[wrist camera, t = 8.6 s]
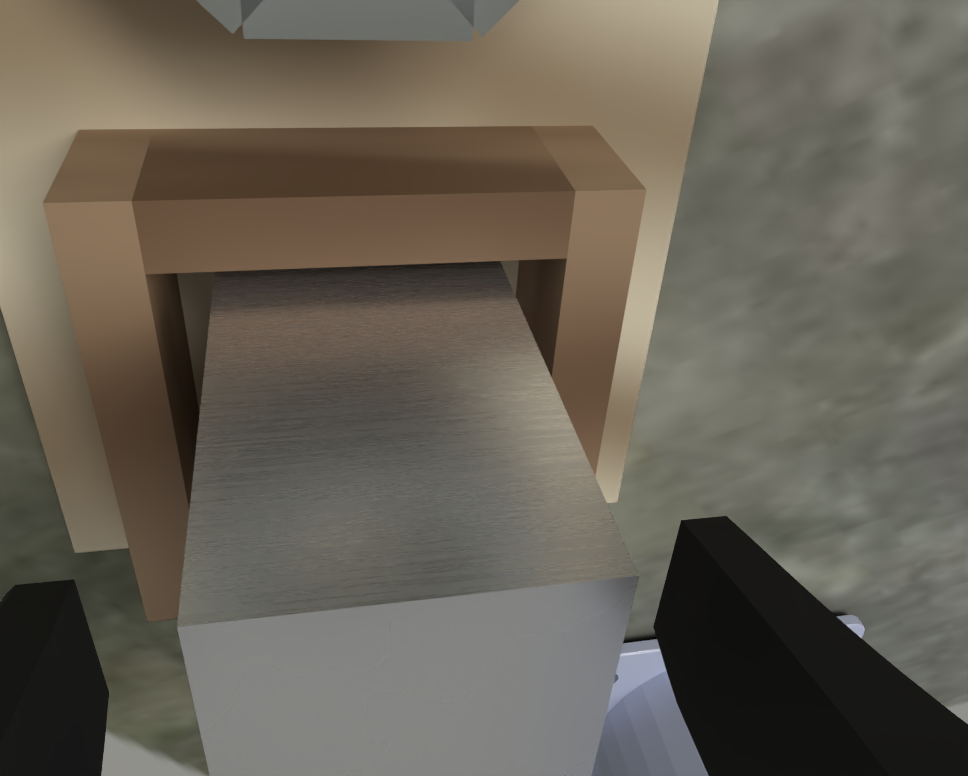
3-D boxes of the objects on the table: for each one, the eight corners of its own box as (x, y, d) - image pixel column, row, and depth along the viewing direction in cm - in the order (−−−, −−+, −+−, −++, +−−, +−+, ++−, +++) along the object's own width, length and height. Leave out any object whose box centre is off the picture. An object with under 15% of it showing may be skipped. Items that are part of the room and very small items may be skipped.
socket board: (603, 471, 20) (657, 590, 17) (83, 516, 18) (48, 660, 15) (839, -809, 9) (1080, -1043, 7) (-369, -1073, 7) (-766, -1580, 4)
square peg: (464, 402, 17) (582, 809, 10) (246, 417, 16) (229, 867, 10) (476, 206, 14) (638, 575, 8) (220, 212, 13) (176, 627, 7)
